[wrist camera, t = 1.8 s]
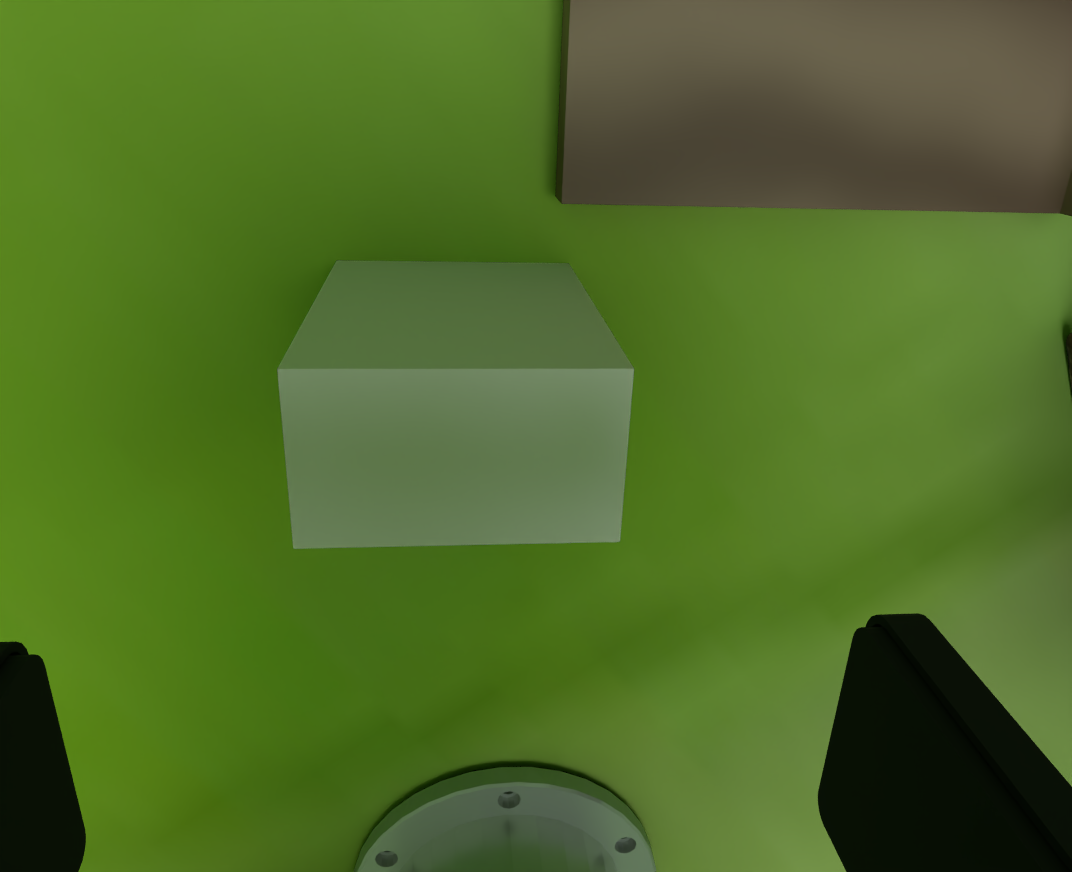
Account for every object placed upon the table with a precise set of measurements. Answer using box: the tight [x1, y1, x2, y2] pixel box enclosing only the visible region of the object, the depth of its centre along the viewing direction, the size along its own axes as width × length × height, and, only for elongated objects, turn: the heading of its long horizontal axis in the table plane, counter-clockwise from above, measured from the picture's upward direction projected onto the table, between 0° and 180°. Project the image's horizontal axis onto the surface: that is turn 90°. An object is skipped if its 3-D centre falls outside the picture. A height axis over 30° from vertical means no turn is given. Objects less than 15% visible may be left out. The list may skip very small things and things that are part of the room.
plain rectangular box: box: [277, 260, 634, 549], centre depth 22 cm, size 4×7×10 cm, turn 88°
